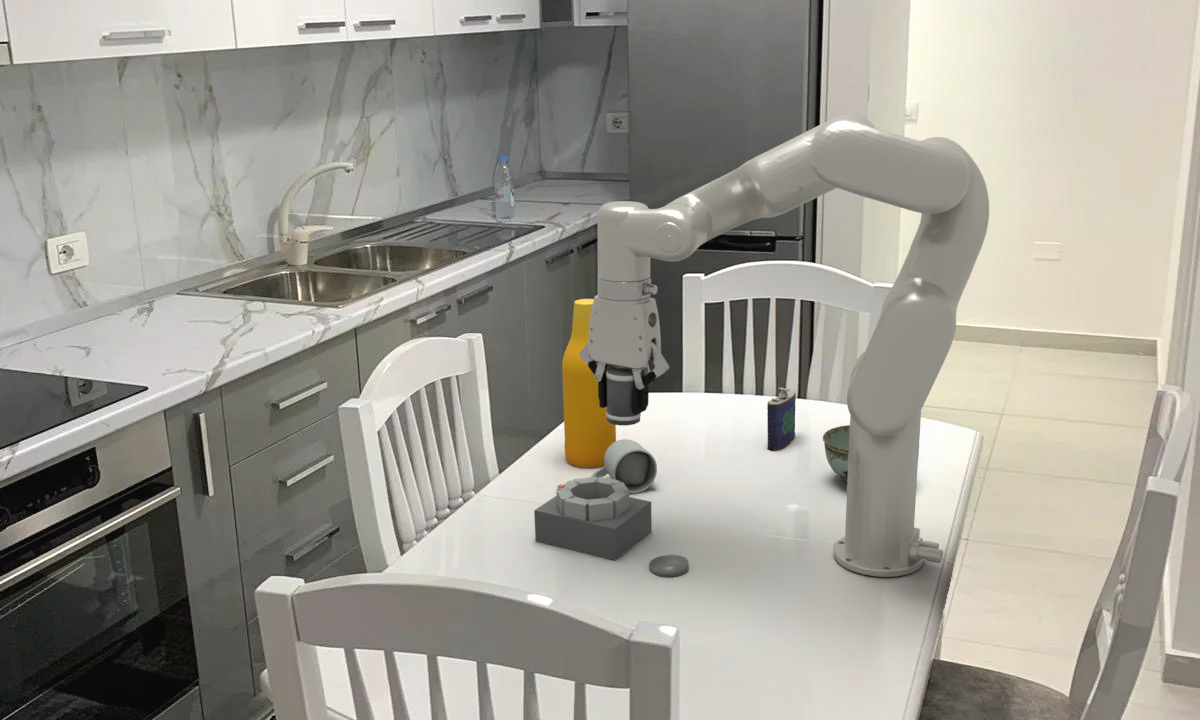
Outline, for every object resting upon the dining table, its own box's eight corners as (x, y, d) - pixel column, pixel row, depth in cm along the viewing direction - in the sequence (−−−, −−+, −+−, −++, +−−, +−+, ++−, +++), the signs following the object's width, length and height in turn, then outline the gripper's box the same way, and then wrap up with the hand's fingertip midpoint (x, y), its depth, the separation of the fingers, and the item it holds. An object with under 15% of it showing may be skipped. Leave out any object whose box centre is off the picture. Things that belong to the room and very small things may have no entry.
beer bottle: (599, 472, 200) (595, 310, 191) (555, 463, 204) (549, 304, 196) (626, 455, 207) (623, 298, 199) (582, 446, 212) (578, 293, 204)
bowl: (853, 504, 184) (855, 458, 182) (805, 476, 196) (806, 432, 194) (921, 489, 189) (924, 443, 187) (871, 462, 201) (873, 419, 199)
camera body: (651, 531, 176) (651, 485, 174) (615, 560, 167) (614, 511, 165) (574, 514, 183) (572, 469, 181) (535, 540, 174) (533, 493, 172)
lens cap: (672, 557, 168) (672, 551, 168) (696, 568, 164) (696, 563, 163) (641, 569, 165) (641, 563, 165) (665, 581, 161) (664, 575, 160)
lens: (646, 417, 172) (647, 366, 169) (629, 427, 167) (629, 375, 165) (617, 411, 174) (617, 361, 172) (599, 421, 170) (599, 369, 168)
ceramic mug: (642, 473, 199) (641, 431, 197) (658, 490, 191) (657, 447, 189) (583, 482, 196) (581, 439, 194) (597, 500, 189) (595, 456, 186)
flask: (784, 434, 215) (786, 380, 212) (799, 437, 214) (801, 382, 211) (764, 450, 208) (765, 394, 205) (779, 453, 207) (780, 396, 203)
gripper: (688, 291, 164) (685, 411, 169) (587, 276, 172) (588, 392, 178) (663, 301, 158) (661, 426, 163) (559, 286, 166) (561, 405, 172)
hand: (623, 407), depth 170 cm, fingers closed on lens, 5 cm apart
